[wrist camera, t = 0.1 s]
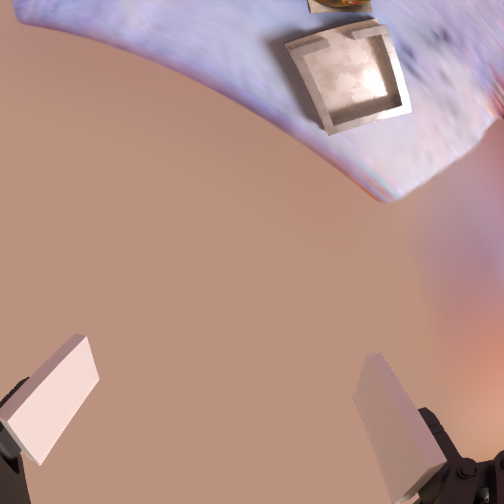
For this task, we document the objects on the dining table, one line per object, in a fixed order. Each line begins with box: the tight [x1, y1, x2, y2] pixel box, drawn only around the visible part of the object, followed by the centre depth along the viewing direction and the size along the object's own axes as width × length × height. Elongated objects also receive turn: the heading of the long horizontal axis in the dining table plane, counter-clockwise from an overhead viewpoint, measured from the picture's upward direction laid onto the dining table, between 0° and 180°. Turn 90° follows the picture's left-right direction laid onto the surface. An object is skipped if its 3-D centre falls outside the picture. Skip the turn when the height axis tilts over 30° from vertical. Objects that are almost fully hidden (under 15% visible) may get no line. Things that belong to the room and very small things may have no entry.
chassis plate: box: [284, 18, 411, 136], centre depth 29 cm, size 15×14×4 cm
